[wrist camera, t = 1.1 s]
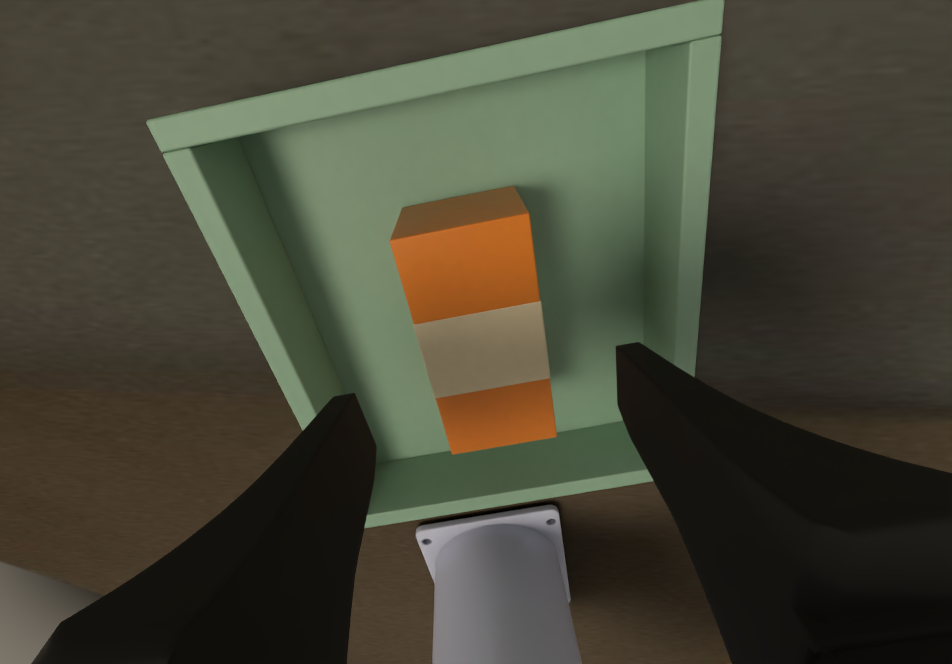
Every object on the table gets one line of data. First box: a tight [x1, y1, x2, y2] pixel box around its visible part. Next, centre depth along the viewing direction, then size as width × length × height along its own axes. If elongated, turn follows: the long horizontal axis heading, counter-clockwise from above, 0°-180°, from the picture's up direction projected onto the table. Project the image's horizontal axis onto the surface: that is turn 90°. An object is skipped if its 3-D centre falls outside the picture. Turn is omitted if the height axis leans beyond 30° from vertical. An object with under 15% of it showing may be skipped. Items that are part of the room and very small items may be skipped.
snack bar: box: [390, 186, 557, 455], centre depth 16 cm, size 8×4×4 cm, turn 10°
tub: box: [146, 0, 724, 528], centre depth 17 cm, size 17×15×4 cm
